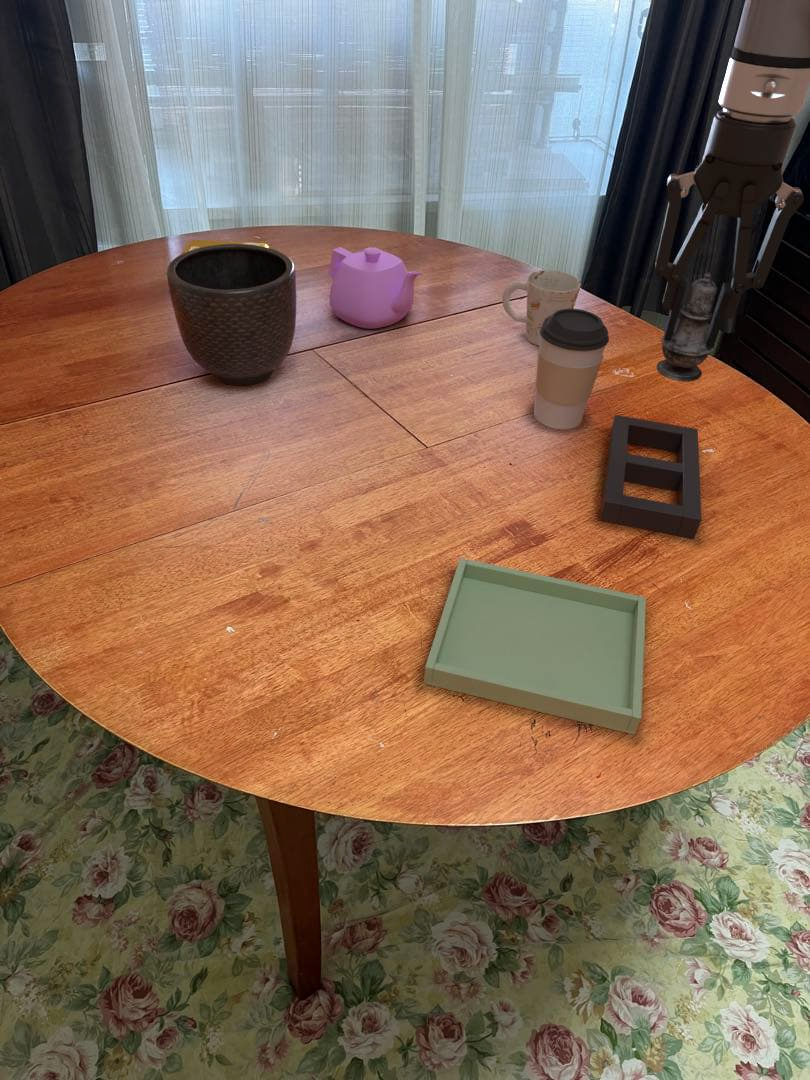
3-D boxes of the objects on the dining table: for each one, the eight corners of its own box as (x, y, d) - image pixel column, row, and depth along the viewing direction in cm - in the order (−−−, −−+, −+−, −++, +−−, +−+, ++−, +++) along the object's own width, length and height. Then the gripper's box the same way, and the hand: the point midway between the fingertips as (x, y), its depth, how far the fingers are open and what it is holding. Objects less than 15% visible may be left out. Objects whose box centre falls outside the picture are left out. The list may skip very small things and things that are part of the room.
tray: (640, 613, 80) (646, 596, 78) (634, 735, 68) (641, 718, 67) (458, 574, 83) (460, 557, 81) (423, 683, 72) (424, 666, 70)
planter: (289, 405, 107) (282, 296, 97) (169, 396, 108) (148, 287, 97) (309, 348, 120) (304, 247, 110) (201, 340, 121) (186, 239, 110)
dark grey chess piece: (686, 388, 88) (718, 287, 80) (644, 368, 91) (670, 269, 83) (713, 372, 91) (746, 274, 83) (671, 354, 94) (699, 257, 86)
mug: (558, 355, 122) (570, 295, 116) (487, 335, 126) (494, 276, 120) (576, 335, 128) (588, 277, 121) (507, 317, 132) (515, 260, 125)
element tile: (192, 261, 144) (189, 236, 141) (271, 265, 145) (269, 239, 142) (174, 294, 133) (169, 267, 130) (259, 298, 133) (257, 271, 130)
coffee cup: (573, 396, 113) (594, 299, 103) (600, 429, 106) (625, 329, 96) (516, 402, 111) (532, 304, 101) (540, 437, 104) (559, 335, 94)
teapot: (391, 348, 122) (393, 280, 114) (305, 308, 131) (302, 244, 124) (443, 322, 129) (449, 258, 122) (359, 287, 139) (359, 225, 132)
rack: (691, 447, 104) (697, 428, 102) (693, 539, 89) (701, 519, 87) (610, 432, 106) (614, 414, 104) (599, 520, 91) (604, 501, 89)
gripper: (664, 112, 72) (611, 341, 87) (859, 131, 69) (768, 365, 84) (665, 96, 77) (615, 314, 93) (846, 113, 74) (763, 336, 90)
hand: (688, 338), depth 88 cm, fingers closed on dark grey chess piece, 4 cm apart
